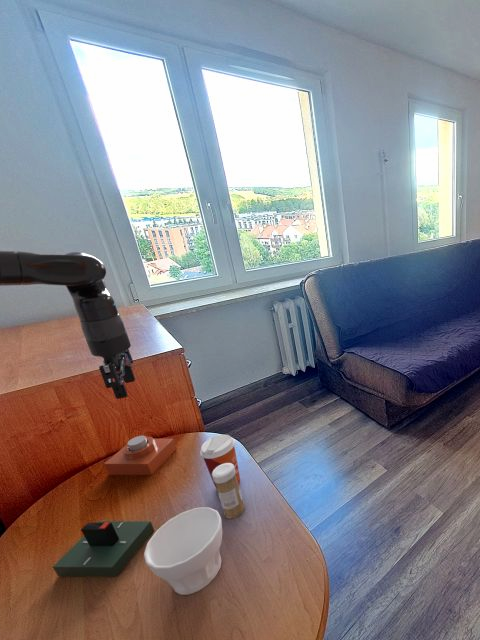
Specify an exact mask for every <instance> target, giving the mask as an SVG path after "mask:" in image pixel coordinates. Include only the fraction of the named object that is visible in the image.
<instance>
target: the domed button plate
mask: <svg viewBox="0 0 480 640" xmlns="http://www.w3.org/2000/svg"><path fill="white" fill-rule="evenodd" d="M145 437H146V440H147V442H148V444H147V445H146V446H145V447H143V448H141V449H139V450H135V451H130V449H129V447H128V444H127V443H126V445H123V447H122V448H121V449H120V450H119V451H117V452H116V453H115V454H114V455H112V457H110V458H109V459H108V460H107V461H105V462H104V463H103V465H104V467H105V469H106V472H107V474H108V475H109V476H153V475H154V474H155V473H156V472H157V470H158V469H160V468H161V466H162V465H163V464H164V463H166V461H167V460H168V459H169V458H170V457H171V456H172V455H173V454H174V453H175V452H176V451H177V450H178V448H177V447H178V446H177V444H176V440H175V438H153V437H152V436H145ZM176 449H177V450H176ZM175 450H176V451H175ZM174 451H175V452H174ZM173 452H174V453H173ZM172 453H173V454H172ZM171 454H172V455H171Z"/></svg>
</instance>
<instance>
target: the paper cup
mask: <svg viewBox="0 0 480 640" xmlns="http://www.w3.org/2000/svg"><path fill="white" fill-rule="evenodd" d="M235 446H236V440H235V438H234V437H232V436H231V435H229V434H225V433H224V434H218V435H215V436H212V437H210V438H208V439H206V440H205V441H204V442H203V444H202V445H201V447H200V451H199V455H200V457H201V458H202V459H203V461H204V463H205V465H206V468H207V471H208V473H209V475H210V478H211V480H212V483H213V485H214V487H215V490H216V491H217V487H216V484H215V482H214V481H213V478H212V472H213V470H214V469H215V468H216V467H218V466H219V465H221V464H224V463H232V464H233V465H234V467H235V471H236V473H235V474H236V478H237V482H238V485H239V486H240V483H241V477H240V470H239V464H238V463H239V462H238V458H237V453H236V447H235Z"/></svg>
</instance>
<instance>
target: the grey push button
mask: <svg viewBox="0 0 480 640" xmlns="http://www.w3.org/2000/svg"><path fill="white" fill-rule="evenodd" d="M146 437H147V436H145V435H138V436H135V437H133V438H131V439H129V440H128V441H127V443H126V445H127V444H128V447H129V449H130V451H135V450H139V449H141V448H143V447H145V446H146V445H147V444H148V442H147V440H146Z"/></svg>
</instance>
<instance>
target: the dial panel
mask: <svg viewBox="0 0 480 640" xmlns="http://www.w3.org/2000/svg"><path fill="white" fill-rule="evenodd" d="M105 522H110V523H112V525H113V527H114V529H115V531H116V533H117V535H118V537H119V540H118V541H117V542H116V543H115V544H114V545H113V546H89V544H88V542H87V540H86V538H85V536H84V535H83V536H82V537H81V538H80V539H79V540H78V541H77V542H76V543H75V544H74V545H73V546H71V548H70V549H69V550H68V551H67V552H66V553H65V554H64V555H63V556H62V557H61V558H60V559H59V560H58V561H57V562H56V563H55V564H54V565H53V566H52V569H53V571H54V572H55V573H56V575H57V576H58V577H60V578H62V577H64V578H65V577H69V578H70V577H71V578H76V577H77V578H78V577H79V578H83V577H86V578H89V577H90V578H103V577H104V578H105V577H106V578H117V577H118V576H119V575H120V573H122V571H123V570H124V569H125V568H126V566H127V565H128V563H129V562H130V561H131V560H132V559H133V557H134V556H135V555H137V553H138V551H139V550H140V549H141V548H142V547H143V545H144V544H145V543H146V541H148V539H149V537H150V536H151V535H152V534H154V532H155V529H154V526H153V523H152V521H149V520H146V521H144V520H143V521H142V520H141V521H139V520H125V521H124V520H98V521H97V522H96V523H105Z"/></svg>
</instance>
